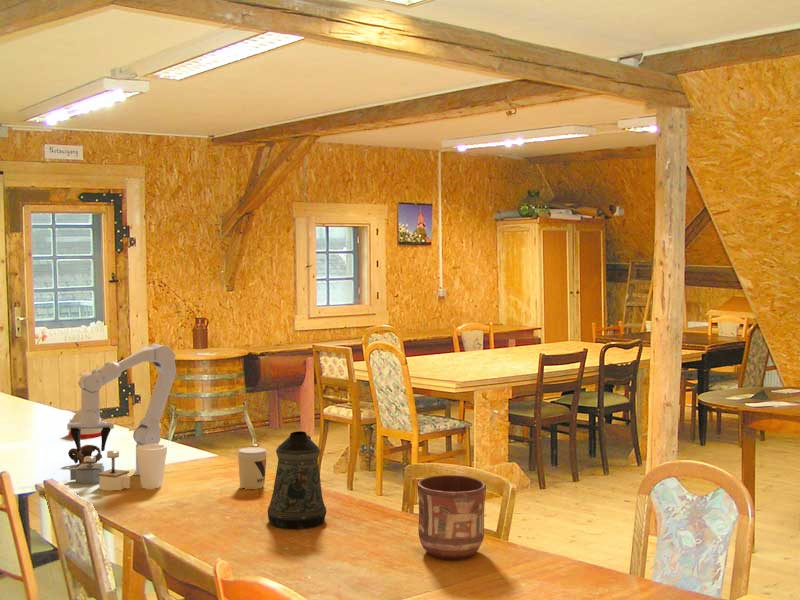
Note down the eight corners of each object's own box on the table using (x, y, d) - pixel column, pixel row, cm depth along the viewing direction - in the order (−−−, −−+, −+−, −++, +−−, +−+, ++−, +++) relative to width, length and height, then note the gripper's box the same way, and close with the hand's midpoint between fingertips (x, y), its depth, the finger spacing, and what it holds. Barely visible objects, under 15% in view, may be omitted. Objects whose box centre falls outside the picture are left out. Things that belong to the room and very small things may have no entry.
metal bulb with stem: (96, 477, 315) (96, 455, 315) (94, 479, 312) (94, 458, 311) (85, 477, 315) (85, 456, 314) (83, 479, 311) (83, 458, 311)
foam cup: (144, 492, 300) (143, 451, 299) (131, 486, 307) (131, 446, 306) (171, 487, 306) (171, 447, 305) (159, 482, 313) (159, 442, 312)
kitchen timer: (96, 430, 401) (95, 395, 400) (109, 435, 391) (109, 399, 390) (63, 434, 392) (63, 398, 391) (76, 439, 382) (76, 402, 381)
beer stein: (271, 531, 258) (271, 440, 257) (262, 512, 277) (262, 427, 276) (331, 527, 263) (332, 437, 261) (318, 509, 281) (319, 425, 280)
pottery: (401, 552, 242) (402, 482, 241) (447, 538, 254) (449, 471, 253) (452, 569, 229) (454, 496, 228) (499, 554, 241) (500, 483, 240)
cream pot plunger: (104, 474, 303) (104, 452, 303) (112, 472, 307) (112, 450, 306) (114, 475, 302) (113, 453, 302) (121, 473, 305) (121, 451, 305)
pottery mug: (104, 463, 342) (106, 445, 338) (95, 480, 334) (97, 462, 330) (71, 454, 341) (73, 437, 337) (61, 471, 333) (63, 454, 329)
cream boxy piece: (93, 489, 302) (93, 473, 302) (111, 483, 310) (111, 468, 310) (120, 492, 298) (120, 476, 298) (137, 486, 306) (137, 471, 306)
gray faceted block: (105, 477, 318) (105, 462, 318) (101, 483, 310) (100, 468, 309) (73, 478, 317) (73, 463, 316) (68, 484, 308) (67, 469, 308)
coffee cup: (261, 491, 302) (261, 453, 302) (233, 489, 304) (233, 452, 303) (270, 484, 311) (271, 447, 311) (243, 482, 313) (243, 446, 313)
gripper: (115, 407, 318) (115, 447, 319) (70, 408, 316) (70, 448, 317) (111, 410, 311) (112, 452, 312) (65, 411, 309) (66, 453, 310)
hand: (91, 450), depth 314 cm, fingers open, 7 cm apart
